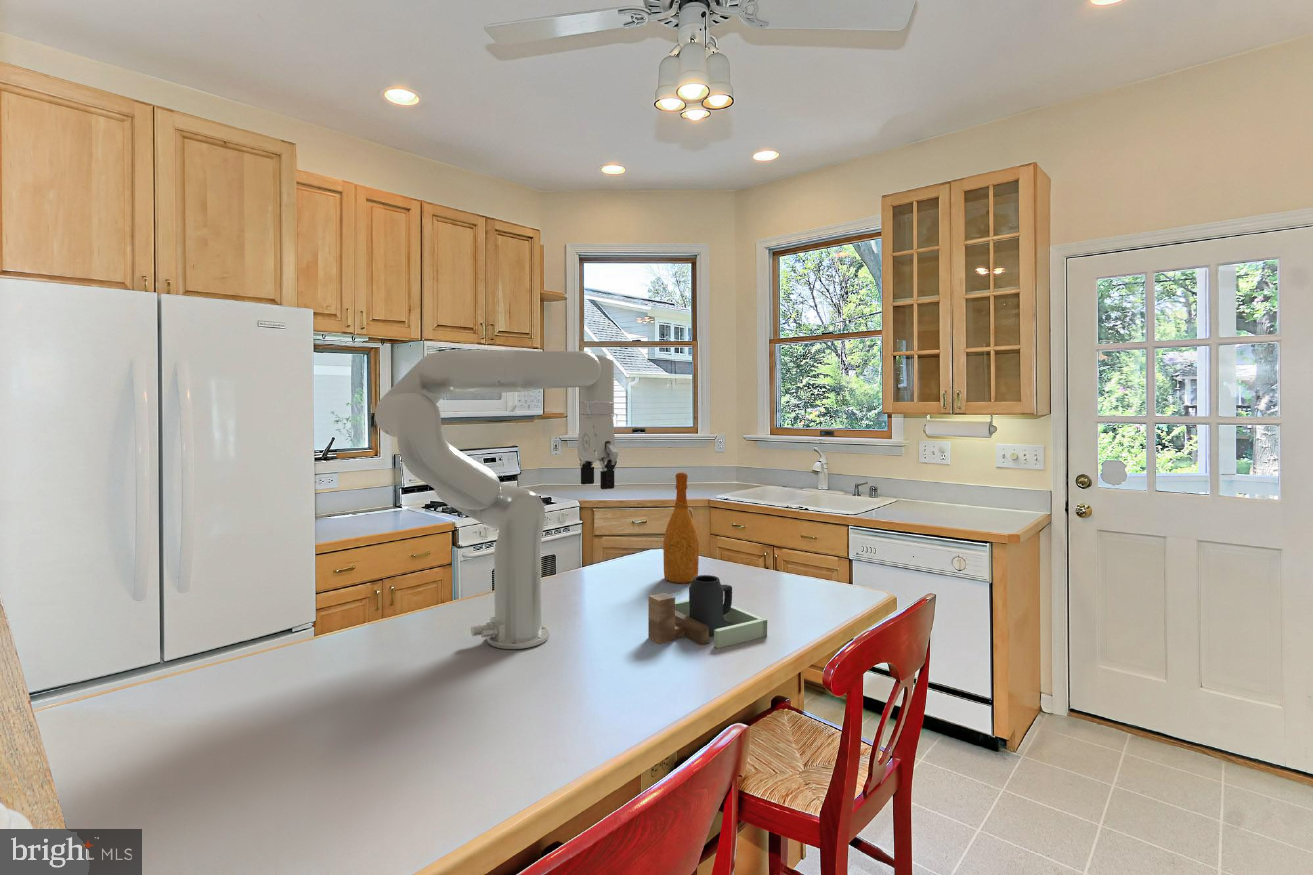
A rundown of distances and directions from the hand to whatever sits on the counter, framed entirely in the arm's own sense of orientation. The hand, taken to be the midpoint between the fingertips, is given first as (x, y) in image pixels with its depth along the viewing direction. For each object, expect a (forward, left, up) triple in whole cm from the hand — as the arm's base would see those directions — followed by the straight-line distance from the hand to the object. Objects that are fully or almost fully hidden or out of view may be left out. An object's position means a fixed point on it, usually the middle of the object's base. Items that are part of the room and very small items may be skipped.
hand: (597, 486), depth 148 cm
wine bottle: (+35, +17, -31) cm, 49 cm away
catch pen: (+18, -19, -30) cm, 40 cm away
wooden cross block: (+8, -19, -30) cm, 37 cm away
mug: (+18, -19, -31) cm, 40 cm away
